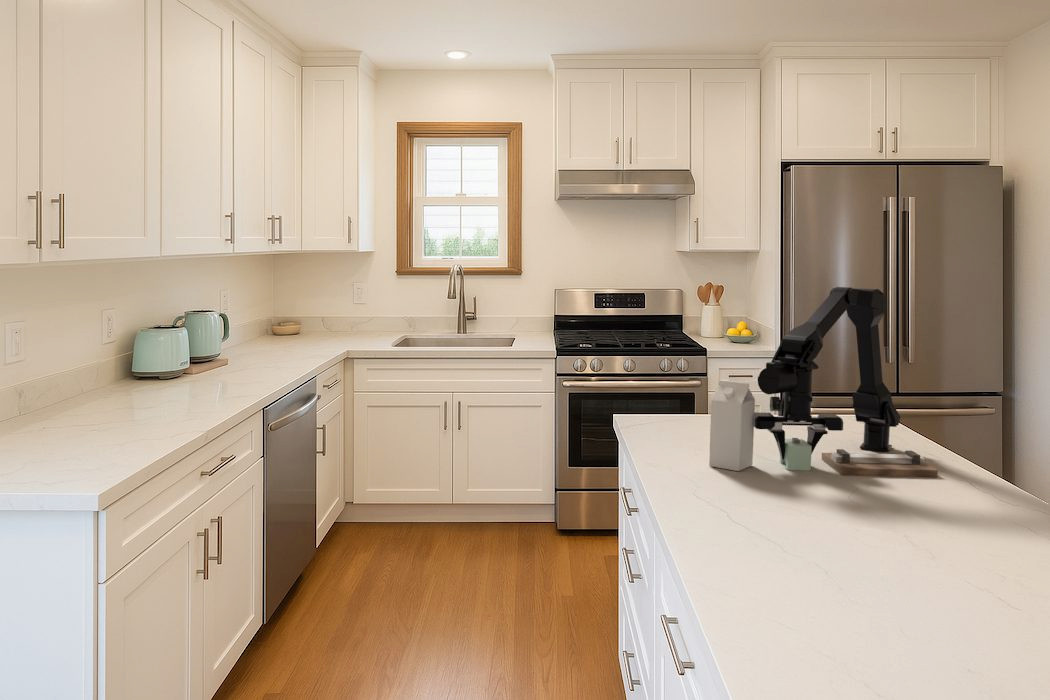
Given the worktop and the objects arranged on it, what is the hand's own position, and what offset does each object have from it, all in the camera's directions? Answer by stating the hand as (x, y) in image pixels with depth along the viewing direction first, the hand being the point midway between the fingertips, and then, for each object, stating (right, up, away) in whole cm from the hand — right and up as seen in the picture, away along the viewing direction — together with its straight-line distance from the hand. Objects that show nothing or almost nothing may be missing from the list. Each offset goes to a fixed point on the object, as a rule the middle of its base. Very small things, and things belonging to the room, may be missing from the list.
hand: (794, 459), depth 180 cm
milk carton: (-14, -2, 0) cm, 14 cm away
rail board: (+18, -2, -1) cm, 18 cm away
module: (0, -2, 0) cm, 2 cm away
